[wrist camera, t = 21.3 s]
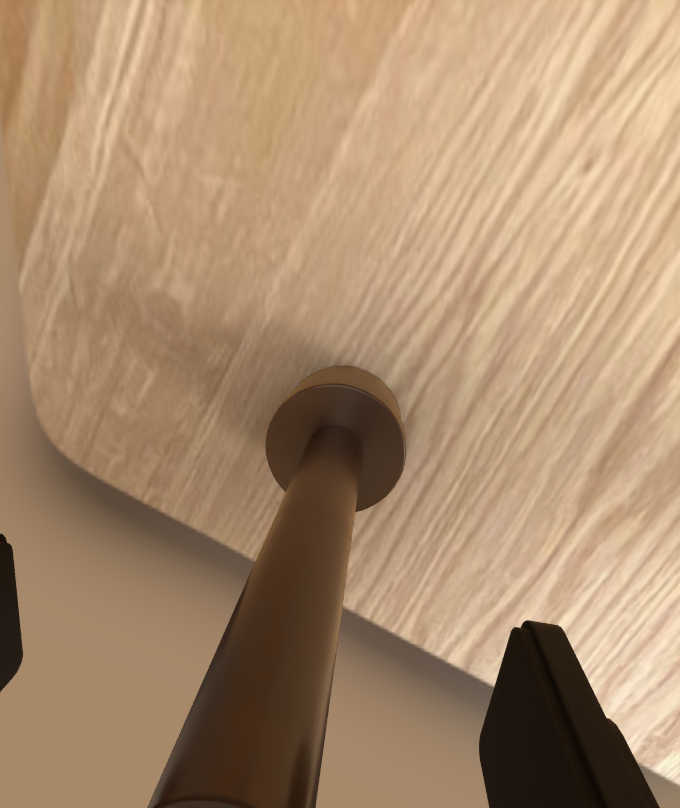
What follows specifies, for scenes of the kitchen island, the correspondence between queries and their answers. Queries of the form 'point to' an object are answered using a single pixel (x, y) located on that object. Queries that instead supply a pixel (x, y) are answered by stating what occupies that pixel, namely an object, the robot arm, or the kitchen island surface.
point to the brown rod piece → (289, 604)
